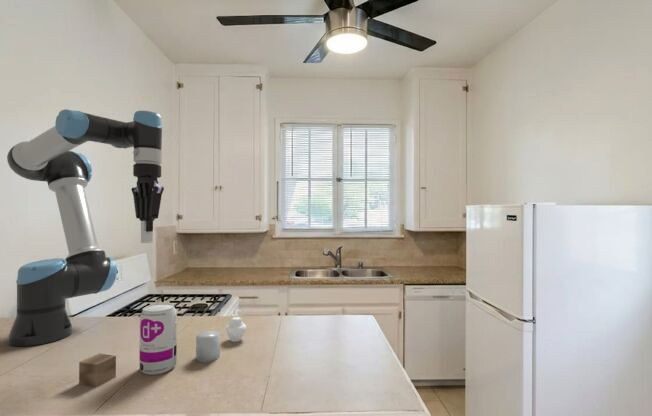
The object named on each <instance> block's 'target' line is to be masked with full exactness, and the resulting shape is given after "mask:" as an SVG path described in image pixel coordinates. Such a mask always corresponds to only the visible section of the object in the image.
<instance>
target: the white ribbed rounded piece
mask: <svg viewBox="0 0 652 416" xmlns="http://www.w3.org/2000/svg"><path fill="white" fill-rule="evenodd" d="M246 331H247V325H246V324H245V322H244V321H243V319H242V318H241V317H239V316H235V317H232V318H230V321H229V323H228V324H227V325H226V327H225V332H226V334H227V337H228V339H229V340H230V342H232V343H236V342H241V341H242V340H243V337H244V335H245V333H246Z"/></svg>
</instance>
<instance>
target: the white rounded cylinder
mask: <svg viewBox="0 0 652 416" xmlns="http://www.w3.org/2000/svg"><path fill="white" fill-rule="evenodd" d="M220 357H221V333H220V331H217V330H206V331H201V332H199V333H197V334H196V335H195V360H196V361H198V363H208V362H209V363H210V362H214V361H217V360H218V359H220Z"/></svg>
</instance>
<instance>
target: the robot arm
mask: <svg viewBox="0 0 652 416" xmlns="http://www.w3.org/2000/svg"><path fill="white" fill-rule="evenodd" d="M162 133H163V123H162V116H161V115H160V114H159V113H158V112H155V111H150V110H137V111H135V112H134V114H133V120H132V121H128V122H126V121H121V120H117V119H112V118H108V117H103V116H99V115H95V114H91V113H86V112H83V111H80V110H74V109H73V110H72V109H67V108H65V109H61V110H60V111H59V112H58V114H57V116H56V118H55V124H54V126H52V127H50V128H49V129H47V130H46V131H44V132H42V133H41V134H39V135H37V136H36V137H33V138H31V139H30V140H29V141H27V140H26V141H21V142H18V143H16V144H15V145H13V146H12V147H10V149H9V151H8V153H7V156H6V159H7V165H8V167H9V168H10V169H11V170H12V171H13V172H14V173H15V174H17V175H18V176H19V177H22V178H24V179H26V180H28V181H29V180H31V181H35V182H36V181H37V182H38V181H39V182H47V185H48V189H49V190H50V191H51V192H54V194H55V197H56V202H57V205H58V206H57V207H58V211H59V216H60V219H61V224H62V230H63V232H64V237H65V238H64V239H65V242H66V247H67V251H68V255H67V256H66V257H65V258H60V257H59V258H50V259H49V258H47V259H42V260H37V261H33V262H28V263H25V264H23V265H22V266H20V267H19V269H18V271H17V279H16V282H15V283H16V316H15V319H14V320H13V324H12V326H11V328H10V331H9V333H8V338H7V341H8V346H12V347H31V346H38V345H44V344H48V343H53V342H56V341H59V340H63V339H65V338H67V337H69V336H70V335H71V334H73V325H72V323H71V320H70V318H69V314H68V312H67V310H66V299H73V298H76V297H82V296H86V295H87V296H88V295H94V294H96V295H97V294H98V293H102V292H106V291H108V290H109V289H111V288H112V287H113V285H114V284H115V282H116V278H117V275H118V274H117V273H118V267H117V263H116V260H114V258H112V257H108V256H107V255H106V252H105V250H104V249H102V248H100V247H99V245H98V244H99V243H98V241H97V236H96V232H95V228H94V224H93V220H92V215H91V212H90V207H89V204H88V199H87V194H86V191H85V188H86V187H88V183H89V182H90V181H91V179H92V176H93V174H92V172H93V168H92V164H91V162H90V160H89V158H88V157H87V156H86V155H84V154H82V153H79V152H75V151H72V150H73V149H76V148H77V147H79V146H81V145H82V144H84V143H87V142H93V143H99V144H106V145H111V146H112V147H114V148H117V149H130V148H133V152H132V154H133V162H134V164H133V165H132V168H133V170H132V175H133V176H134V177H135V178H137V180H136V186H135V187H132V188H130V189H131V193H132V195H133V204H134V211H135V218H136V219H138V220H139V221H140V244H149V243H150V244H151V243H153V239H154V238H153V234H154V233H153V231H154V221H155V220H156V219H158V218H159V216H160V215H159V214H160V209H161V203H162V202H161V200H162V195H163V192H164V190H165V188H164V186H160V184H159V180H158V178H161V177H162V161H163V160H162V159H163V158H162V157H163V156H162V147H163V146H162V138H163V134H162Z"/></svg>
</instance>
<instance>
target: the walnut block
mask: <svg viewBox="0 0 652 416" xmlns="http://www.w3.org/2000/svg"><path fill="white" fill-rule="evenodd" d="M78 363H79V367H78V368H79V370H78V384H79V385H82V386H88V387H93V388H98V387H99V386H102V385H104V384H106V383H107V382H109V381H111V380H113V379H115V378H116V377H117V355H112V354H106V353H100V352H99V353H97V354H95V355H93V356H89V357H88V358H86V359H85V358H84V359H83V360H80V361H79V362H78Z"/></svg>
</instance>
